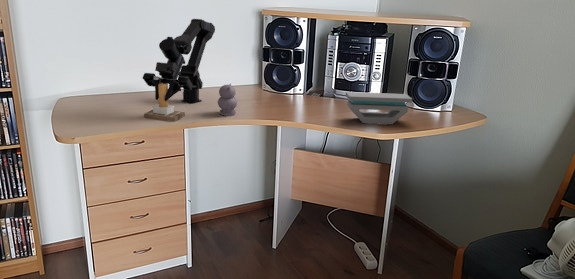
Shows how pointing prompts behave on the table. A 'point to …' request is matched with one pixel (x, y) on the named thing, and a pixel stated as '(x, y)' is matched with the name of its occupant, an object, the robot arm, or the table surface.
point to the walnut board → (165, 116)
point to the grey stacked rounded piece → (227, 100)
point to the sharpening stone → (378, 106)
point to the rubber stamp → (163, 101)
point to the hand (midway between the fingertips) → (160, 100)
